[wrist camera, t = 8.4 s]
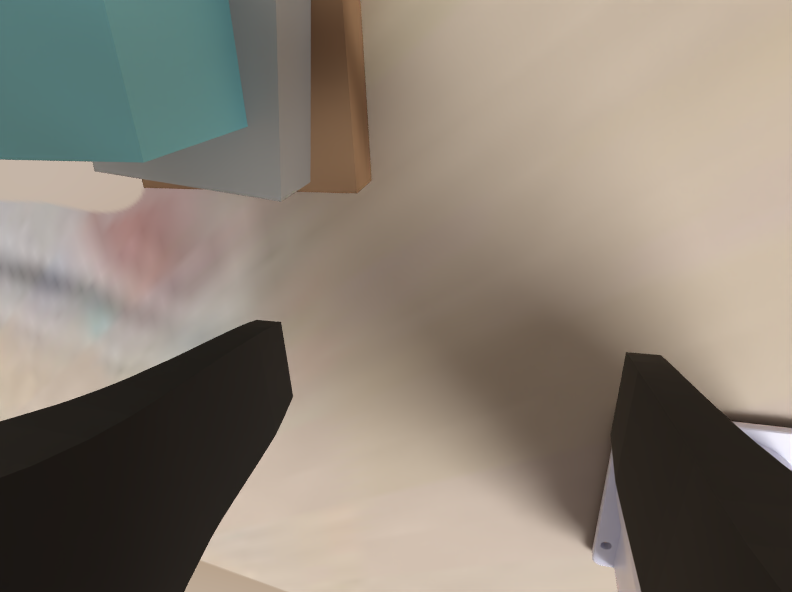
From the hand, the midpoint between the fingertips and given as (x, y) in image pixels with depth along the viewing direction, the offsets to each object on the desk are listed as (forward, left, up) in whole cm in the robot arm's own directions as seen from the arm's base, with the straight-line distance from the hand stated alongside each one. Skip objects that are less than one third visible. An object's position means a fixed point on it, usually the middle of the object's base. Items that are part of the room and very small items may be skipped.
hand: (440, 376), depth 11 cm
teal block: (+6, +9, -6) cm, 13 cm away
